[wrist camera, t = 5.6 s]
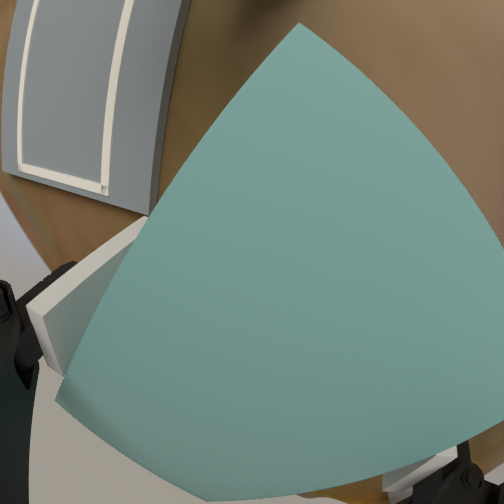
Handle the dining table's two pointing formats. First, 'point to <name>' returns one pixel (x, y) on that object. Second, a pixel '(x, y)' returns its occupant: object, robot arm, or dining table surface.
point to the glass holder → (399, 495)
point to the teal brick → (298, 298)
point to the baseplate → (91, 95)
